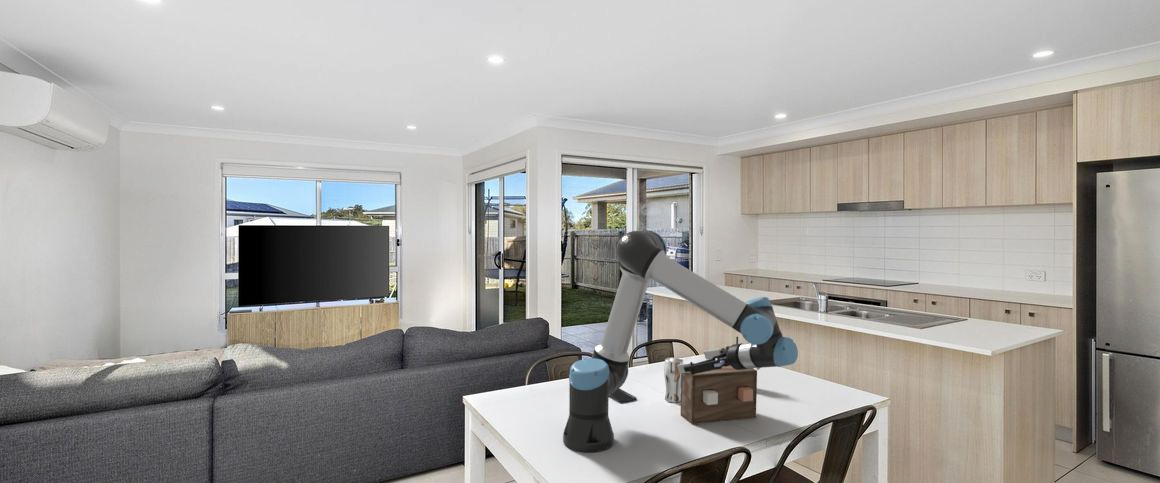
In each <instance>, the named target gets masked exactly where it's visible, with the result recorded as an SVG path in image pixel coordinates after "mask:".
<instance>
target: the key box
mask: <svg viewBox="0 0 1160 483" xmlns="http://www.w3.org/2000/svg"><path fill="white" fill-rule="evenodd" d="M739 386H744V387H749V388H751V389H752V390H753V401H744V402H743V401H741V400H740V399H738V397H737V387H739ZM706 389H710V390H714V391H715V392H717V393H718V404H714V405H707V404H705V403H704V402H703V400H702V390H706ZM757 389H758V370H757V369H756V368H752V369H743V370H736V369H734V368H733V367H732V366H726V367H725V366H723V367H722V368H721V369H716V370H711V371H706V372H702V373H697V374H694V375H691V372H690V373H681V402H680V417H682V418H683V419H684V420H686V421H687V422H688V423H690V424H691V425H698V424H709V423H716V422H725V421H726V422H727V421H735V420H743V419H745V420H746V419H754V418H757V396H758V395H757V393H758V392H757Z"/></svg>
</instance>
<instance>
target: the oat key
mask: <svg viewBox="0 0 1160 483" xmlns="http://www.w3.org/2000/svg"><path fill="white" fill-rule="evenodd" d="M702 400H703V402H704V403H705V404H707V405H714V404H718V393H717V392H715V391H714V390H710V389H706V390H702Z"/></svg>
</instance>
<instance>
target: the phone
mask: <svg viewBox="0 0 1160 483" xmlns="http://www.w3.org/2000/svg"><path fill="white" fill-rule="evenodd" d="M609 399H612V401H614V402H616V403H618V404H625V403H631V402H636V401H637V396H635V395H632V394H631V393H628V392H627V391H625V390H623V389H622V388H621V387H620V388H619V389H617V390H616V391H614V392H613V393H612V394H611V395H610V396H609Z"/></svg>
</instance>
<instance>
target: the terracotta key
mask: <svg viewBox="0 0 1160 483" xmlns="http://www.w3.org/2000/svg"><path fill="white" fill-rule="evenodd" d="M737 397H738V399H740V400H741V401H743V402H744V401H753V390H752V389H751V388H749V387H744V386H739V387H737Z"/></svg>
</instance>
